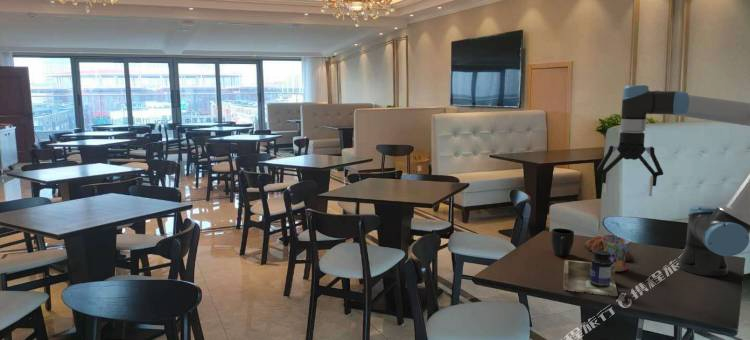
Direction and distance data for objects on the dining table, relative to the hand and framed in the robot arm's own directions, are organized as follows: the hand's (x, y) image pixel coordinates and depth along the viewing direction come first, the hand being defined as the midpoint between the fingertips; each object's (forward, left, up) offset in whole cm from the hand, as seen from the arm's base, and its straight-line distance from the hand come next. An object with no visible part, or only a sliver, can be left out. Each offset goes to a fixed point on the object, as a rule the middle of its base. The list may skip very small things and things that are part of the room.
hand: (627, 194), depth 182 cm
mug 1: (+20, -15, -29) cm, 38 cm away
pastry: (+3, -24, -29) cm, 38 cm away
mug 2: (+2, -7, -29) cm, 30 cm away
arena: (+11, +15, -29) cm, 34 cm away
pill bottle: (+8, +16, -28) cm, 33 cm away
